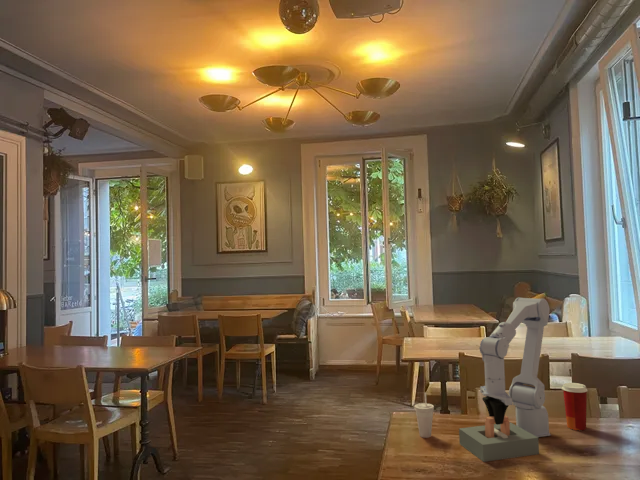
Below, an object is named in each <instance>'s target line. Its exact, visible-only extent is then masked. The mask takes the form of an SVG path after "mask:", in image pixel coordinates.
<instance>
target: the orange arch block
mask: <svg viewBox="0 0 640 480" xmlns="http://www.w3.org/2000/svg"><path fill="white" fill-rule="evenodd" d="M509 422H510V421H509V417H508V416H507V415H505V416H504V421H503V424H500V426H501V432H502V433H504V434H505V435H507V436H509V435H510V423H509ZM494 424H496V423H495V420H494V416H491V417H490V416H485V420H484V425H485V436H486V437H487V438H494Z"/></svg>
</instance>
